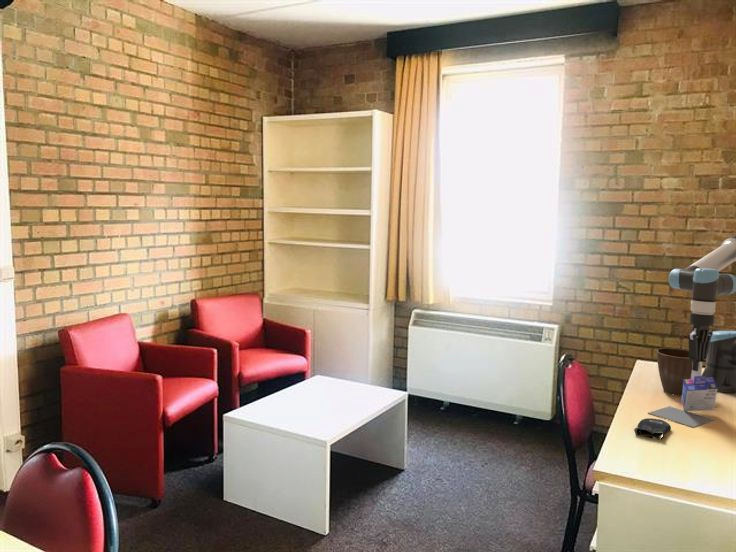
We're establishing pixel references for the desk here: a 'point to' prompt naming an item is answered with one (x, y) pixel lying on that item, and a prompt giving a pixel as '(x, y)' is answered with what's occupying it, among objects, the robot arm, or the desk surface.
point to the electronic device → (652, 427)
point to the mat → (681, 416)
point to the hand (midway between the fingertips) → (695, 379)
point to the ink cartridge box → (699, 393)
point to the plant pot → (673, 369)
